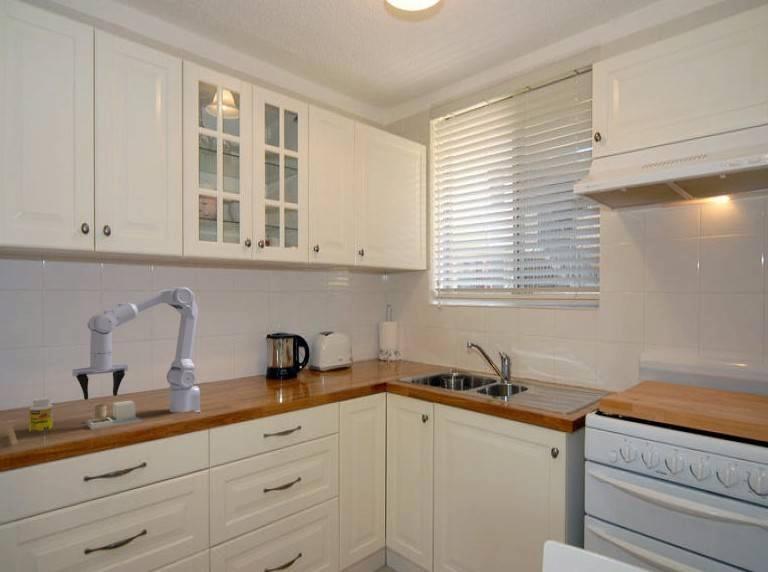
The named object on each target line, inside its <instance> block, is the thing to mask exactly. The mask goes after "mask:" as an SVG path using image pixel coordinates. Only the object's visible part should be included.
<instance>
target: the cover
mask: <svg viewBox="0 0 768 572" xmlns="http://www.w3.org/2000/svg"><path fill="white" fill-rule="evenodd" d="M112 416H113V417H114V418H115V419H117V420H118V419H124V418H130V417H135V416H136V402H134V401H133V400H126V401H119V402H118V401H117V402H112Z"/></svg>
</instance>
